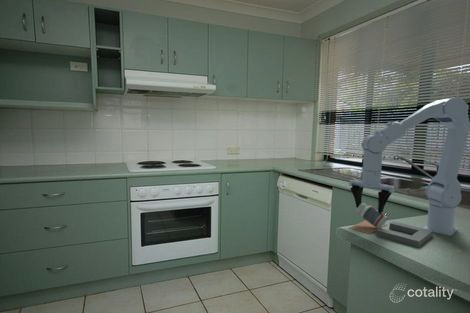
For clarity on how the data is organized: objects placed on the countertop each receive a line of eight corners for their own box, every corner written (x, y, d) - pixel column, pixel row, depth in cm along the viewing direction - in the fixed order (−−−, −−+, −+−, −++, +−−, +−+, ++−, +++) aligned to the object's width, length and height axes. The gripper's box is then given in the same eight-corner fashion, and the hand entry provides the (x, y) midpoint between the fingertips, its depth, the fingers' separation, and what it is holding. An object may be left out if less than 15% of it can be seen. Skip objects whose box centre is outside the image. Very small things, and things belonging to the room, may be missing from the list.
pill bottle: (387, 214, 94) (363, 198, 100) (377, 227, 94) (354, 210, 99) (388, 219, 98) (365, 203, 104) (378, 230, 98) (355, 214, 103)
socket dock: (392, 226, 100) (393, 221, 100) (432, 236, 91) (432, 230, 91) (376, 235, 91) (376, 230, 91) (418, 247, 82) (419, 241, 82)
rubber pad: (367, 219, 107) (367, 219, 107) (387, 224, 102) (387, 224, 102) (348, 228, 98) (348, 227, 98) (369, 234, 92) (369, 233, 92)
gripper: (345, 168, 100) (343, 206, 102) (389, 174, 90) (386, 216, 91) (355, 167, 105) (353, 203, 106) (398, 172, 94) (395, 212, 96)
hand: (369, 209), depth 99 cm, fingers open, 7 cm apart
